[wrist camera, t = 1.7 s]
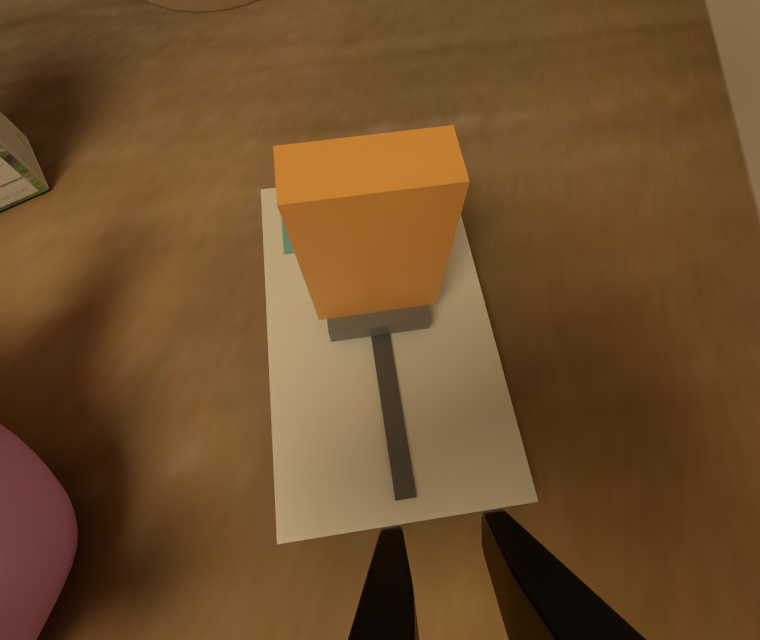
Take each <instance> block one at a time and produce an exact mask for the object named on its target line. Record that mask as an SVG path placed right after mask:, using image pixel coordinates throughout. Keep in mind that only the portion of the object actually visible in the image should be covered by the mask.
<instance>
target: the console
mask: <svg viewBox="0 0 760 640" xmlns="http://www.w3.org/2000/svg"><path fill="white" fill-rule="evenodd" d="M261 201H262V223H263V245H264V267H265V289H266V311H267V333H268V355H269V377H270V399H271V421H272V443H273V465H274V487H275V509H276V531H277V544H282V543H288V542H294V541H301V540H307V539H313V538H319V537H325V536H331V535H337V534H344V533H350V532H356V531H362V530H368V529H374V528H380V527H387V526H393V525H399V524H405V523H411V522H417V521H423V520H429V519H436V518H442V517H448V516H454V515H460V514H466V513H472V512H479V511H485V510H491V509H497V508H503V507H509V506H515V505H522V504H528V503H534V502H538V498H537V495H536V491H535V487H534V484H533V480H532V476H531V472H530V469H529V465H528V461H527V458H526V454H525V450H524V446H523V443H522V439H521V435H520V432H519V428H518V424H517V421H516V417H515V413H514V409H513V406H512V402H511V398H510V395H509V391H508V387H507V383H506V380H505V376H504V372H503V369H502V365H501V361H500V358H499V354H498V350H497V346H496V343H495V339H494V335H493V332H492V328H491V324H490V320H489V317H488V313H487V309H486V306H485V302H484V298H483V295H482V291H481V287H480V283H479V280H478V276H477V272H476V269H475V265H474V261H473V257H472V254H471V250H470V246H469V243H468V239H467V235H466V232H465V228H464V224H463V220H462V217H461V215H460V219H459V223H458V226H457V230H456V234H455V237H454V241H453V245H452V248H451V252H450V256H449V260H448V263H447V267H446V271H445V274H444V278H443V282H442V285H441V289H440V293H439V296H438V300H437V304H432V305H429V308H430V313H431V318H432V320H431V324H430V328H427V329H420V330H413V331H406V332H399V333H391V334H384V335H377V336H370V337H363V338H356V339H349V340H342V341H334V342H331V339H330V336H329V333H328V324H327V319H323V320H319V319H318V316H317V313H316V310H315V308H314V305H313V302H312V299H311V297H310V294H309V291H308V288H307V286H306V283H305V280H304V278H303V275H302V272H301V269H300V267H299V264H298V261H297V258H296V256H295V253H294V250H293V247H292V245H291V242H290V239H289V237H288V234H287V231H286V228H285V226H284V223H283V220H282V217H281V215H280V212H279V209H278V206H277V197H276V188H270V189H261Z"/></svg>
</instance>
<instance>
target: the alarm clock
mask: <svg viewBox="0 0 760 640" xmlns="http://www.w3.org/2000/svg"><path fill="white" fill-rule="evenodd" d="M146 1H147V2H149V3H151V4H153V5H157V6H160V7H163V8H167V9H170V10H175V11H186V12H197V13H199V12H212V11H224V10H228V9H232V8H237V7H241V6H245V5H249V4H251V3H254V2H256V1H258V0H146Z"/></svg>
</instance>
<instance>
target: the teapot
mask: <svg viewBox="0 0 760 640" xmlns="http://www.w3.org/2000/svg"><path fill="white" fill-rule="evenodd" d="M77 543H78V528H77V522H76V515H75V511H74V509H73V506H72V504H71V501H70V499H69V496H68V494H67V492H66V491H65V490H64V488H63V487H62V486H61V484H60V483H59V482H58V480H57V479H56V477H55V476H54V475H53V473H52V472H51V471H50V469H49V468H48V467H47V466H46V465H45V464H44V463H43V461H42V460H41V459H40V458H39V457H38V456H37V455H36V454H35V452H34V451H33V450H32V449H30V448H29V447H28V446H27V445H26V444H25V443H24V442H23V441H22V440H21V439H20V438H18V437H17V436H16V435H15V434H14V433H12V432H11V431H9V430H8V429H7V428H5V427H4V426H3V425H1V424H0V640H37V638H38V636H39V634H40V632H41V630H42V629H43V627H44V625H45V623H46V621H47V619H48V617H49V615H50V613H51V611H52V609H53V607H54V605H55V603H56V601H57V599H58V597H59V595H60V593H61V591H62V588H63V586H64V584H65V581H66V579H67V577H68V574H69V572H70V570H71V567H72V564H73V561H74V557H75V553H76V549H77Z"/></svg>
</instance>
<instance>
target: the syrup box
mask: <svg viewBox="0 0 760 640" xmlns="http://www.w3.org/2000/svg"><path fill="white" fill-rule="evenodd" d="M47 190H49V187H48V184H47V182H46V180H45V177H44V174H43V172H42V170H41V168H40V165H39V163H38V161H37V158H36V156H35V154H34V152H33V149H32V147H31V145H30V143H29V140H28V139H27V137H26V136H25V135H24V134H23V133H22V132H21V131H20V130H19V129H18V128H17V127H16V126H15V125H14V124H13V123H12V122H11V121H10V120H8V119H7V118H6V117H5V116H4V115H3V114H2V113H1V112H0V211H2V210H4V209H7V208H9V207H11V206H14V205H16V204H18V203H20V202H23V201H25V200H27V199H29V198H32V197H34V196H36V195H39V194H41V193H43V192H45V191H47Z"/></svg>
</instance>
